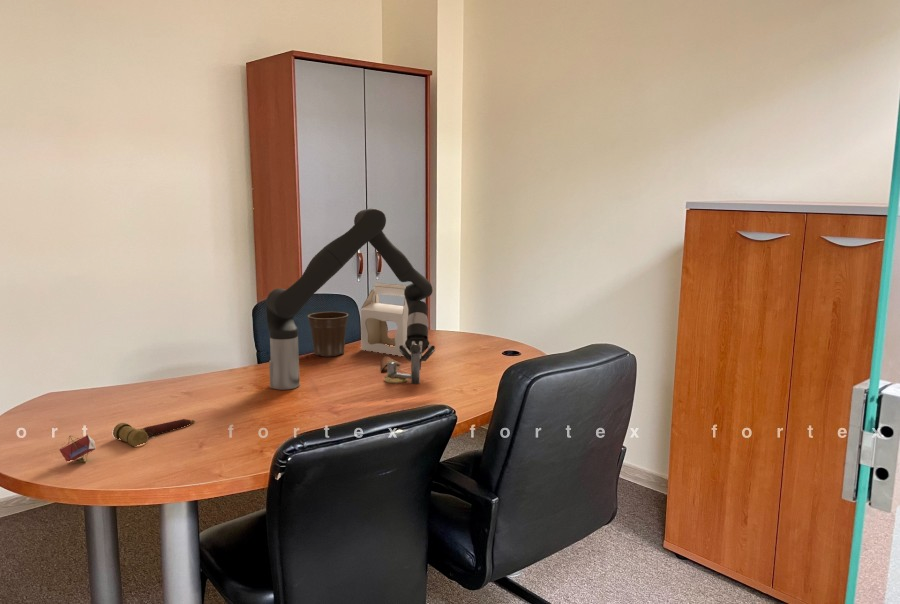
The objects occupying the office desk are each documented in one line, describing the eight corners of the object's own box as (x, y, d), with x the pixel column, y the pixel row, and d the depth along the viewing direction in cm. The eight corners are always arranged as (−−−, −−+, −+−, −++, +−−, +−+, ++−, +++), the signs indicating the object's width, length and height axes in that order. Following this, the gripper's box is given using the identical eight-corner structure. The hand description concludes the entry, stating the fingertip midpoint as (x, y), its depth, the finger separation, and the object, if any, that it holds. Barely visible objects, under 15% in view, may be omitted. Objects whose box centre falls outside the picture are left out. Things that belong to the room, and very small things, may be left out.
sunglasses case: (404, 375, 245) (395, 360, 244) (388, 386, 245) (378, 370, 244) (402, 363, 263) (393, 349, 262) (387, 372, 263) (378, 358, 262)
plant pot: (304, 351, 282) (303, 312, 280) (342, 347, 289) (341, 310, 286) (314, 360, 268) (313, 319, 265) (354, 356, 274) (353, 316, 272)
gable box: (360, 350, 285) (359, 283, 280) (380, 344, 296) (379, 280, 291) (403, 357, 273) (403, 288, 269) (422, 350, 284) (422, 284, 280)
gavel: (184, 410, 198) (204, 417, 192) (184, 425, 198) (204, 432, 192) (112, 424, 181) (131, 432, 175) (112, 441, 182) (131, 450, 176)
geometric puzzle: (55, 462, 161) (75, 432, 163) (51, 453, 167) (71, 424, 168) (83, 474, 165) (103, 444, 167) (79, 464, 171) (98, 436, 172)
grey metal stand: (380, 381, 232) (379, 342, 230) (391, 376, 240) (391, 338, 237) (414, 386, 227) (414, 346, 225) (425, 380, 234) (425, 341, 232)
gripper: (398, 322, 239) (396, 365, 229) (436, 322, 240) (435, 365, 230) (399, 333, 246) (397, 376, 236) (436, 333, 246) (436, 376, 236)
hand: (416, 370), depth 233 cm, fingers closed
